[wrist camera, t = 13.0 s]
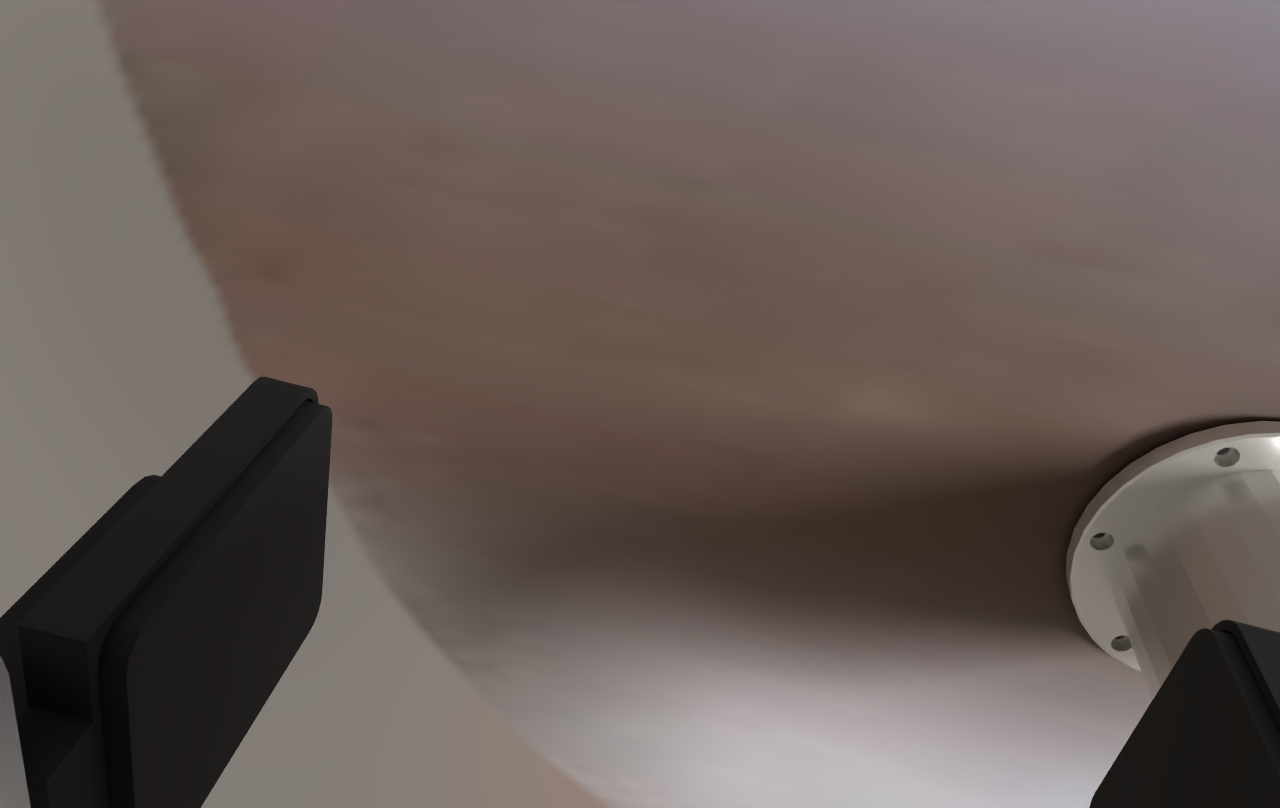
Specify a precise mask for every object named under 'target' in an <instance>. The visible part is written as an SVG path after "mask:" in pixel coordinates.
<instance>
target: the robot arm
mask: <svg viewBox="0 0 1280 808" xmlns="http://www.w3.org/2000/svg"><path fill="white" fill-rule="evenodd" d="M331 431H332V412H331V409H330V408H329V407H328V406H324V405H320V404H318V397H317V393H316V391H315V390H314V389H312V388H308V387H304V386H300V385H296V384H292V383H288V382H284V381H280V380H276V379H272V378H268V377H260V378H258V379H257V380H256V381H254V382H253V383H252V384H251V385H250V386H249V387H248V388H247V390H245V392H244V393H243V394H242V395H241V396H240V397H239V398H238V399H237V400H236V401H235V402H234V403H233V404H232V405H231V406H230V407H229V408H228V409H227V410H226V411H225V412H224V413H223V414H222V415H221V416H220V417H219V418H218V419H217V420H216V421H215V422H214V423H213V424H212V426H210V427H209V428H208V430H207V431H205V432H204V433H203V435H202V436H201V437H200V438H199V439H198V440H197V441H196V442H195V443H194V444H193V445H192V446H191V447H190V448H189V449H188V450H187V451H186V452H185V453H184V454H183V455H182V456H181V457H180V458H179V459H178V460H177V461H176V462H175V463H174V464H173V465H172V466H171V468H169V469H168V470H167V471H166V473H165V474H164V475H163V476H162V477H160V476H157V475H151V476H147V477H144V478H143V479H141V480H140V481H139V482H137V483H136V484H135V485H133V486H132V487H131V488H130V489H129V490H128V491H127V492H126V493H125V495H123V496H122V498H120V499H119V500H118V501H117V502H116V503H115V504H114V505H113V506H112V507H111V508H110V509H109V510H108V511H107V513H105V514H104V515H103V516H102V517H101V518H100V519H99V520H98V521H97V522H96V523H95V524H94V525H93V526H92V527H91V528H90V529H89V530H88V531H87V532H86V533H85V534H84V535H83V536H82V537H81V538H80V539H79V540H78V541H77V542H76V543H75V544H74V545H73V546H72V547H71V548H70V549H69V550H68V551H67V552H66V553H65V554H64V555H63V556H62V557H61V558H60V559H59V560H58V561H57V562H56V563H55V564H54V565H53V566H52V567H51V568H50V569H49V570H48V571H47V572H46V573H45V574H44V575H43V576H42V577H41V578H40V579H39V580H38V581H37V582H36V583H35V584H34V585H33V586H32V587H31V588H30V589H29V590H28V591H27V592H26V593H25V594H24V595H23V596H22V597H21V598H20V599H19V600H18V601H17V602H16V603H15V604H14V605H13V606H12V607H11V608H10V609H9V610H8V611H7V612H6V613H5V614H4V615H3V616H2V617H1V618H0V808H201V806H202V804H203V803H204V801H205V799H206V798H207V796H208V795H209V793H210V792H211V789H212V788H213V787H214V785H215V783H216V782H217V780H218V779H219V777H220V775H221V774H222V772H223V770H224V769H225V767H226V766H227V764H228V762H229V761H230V759H231V757H232V756H233V754H234V753H235V751H236V749H237V748H238V746H239V745H240V743H241V741H242V740H243V738H244V736H245V735H246V733H247V732H248V730H249V728H250V727H251V725H252V724H253V722H254V720H255V719H256V717H257V715H258V714H259V712H260V711H261V709H262V707H263V706H264V704H265V703H266V701H267V699H268V698H269V696H270V694H271V693H272V691H273V690H274V688H275V686H276V685H277V683H278V681H279V680H280V678H281V677H282V675H283V674H284V671H285V670H286V669H287V667H288V665H289V664H290V662H291V661H292V659H293V657H294V656H295V654H296V652H297V651H298V649H299V648H300V646H301V644H302V643H303V641H304V639H305V638H306V636H307V635H308V633H309V631H310V630H311V628H312V626H313V624H314V622H315V619H316V617H317V614H318V610H319V607H320V603H321V597H322V584H323V567H324V550H325V549H324V548H325V532H326V516H327V499H328V482H329V465H330V448H331ZM1066 578H1067V583H1068V587H1069V591H1070V596H1071V599H1072V602H1073V604H1074V607H1075V610H1076V612H1077V615H1078V617H1079V620H1080V622H1081V623H1082V625H1083V626H1084V628H1085V629H1086V631H1087V632H1088V633H1089V635H1090V636H1091V638H1092V639H1093V640H1094V641H1095V642H1096V643H1097V644H1098V645H1099V646H1100V647H1101V648H1102V649H1103V650H1104V651H1105V652H1106V653H1108V654H1109V655H1110V656H1112V657H1114V658H1115V659H1117V660H1119V661H1120V662H1122V663H1124V664H1126V665H1127V666H1129V667H1131V668H1132V669H1135V670H1138V671H1140V672H1142V674H1143V677H1144V679H1145V682H1146V685H1147V687H1148V690H1149V693H1150V695H1151V698H1152V702H1151V704H1150V705H1149V707H1148V708H1147V710H1146V712H1145V713H1144V715H1143V717H1142V718H1141V720H1140V721H1139V723H1138V725H1137V726H1136V728H1135V729H1134V731H1133V733H1132V734H1131V736H1130V737H1129V739H1128V741H1127V742H1126V744H1125V746H1124V747H1123V749H1122V750H1121V752H1120V754H1119V755H1118V757H1117V758H1116V760H1115V762H1114V763H1113V765H1112V766H1111V768H1110V770H1109V771H1108V773H1107V775H1106V776H1105V778H1104V779H1103V781H1102V783H1101V784H1100V786H1099V787H1098V789H1097V791H1096V792H1095V794H1094V796H1093V798H1092V801H1091V804H1090V808H1280V422H1274V421H1256V422H1246V423H1237V424H1228V425H1222V426H1218V427H1215V428H1211V429H1207V430H1203V431H1199V432H1195V433H1191V434H1188V435H1186V436H1184V437H1181V438H1179V439H1176V440H1174V441H1171V442H1169V443H1167V444H1164V445H1162V446H1159V447H1157V448H1156V449H1154V450H1152V451H1151V452H1149V453H1147V454H1146V455H1144V456H1142V457H1141V458H1139V459H1137V460H1135V461H1134V462H1132V463H1130V464H1129V465H1128V466H1127V467H1125V468H1124V469H1123V470H1122V471H1121V472H1119V473H1118V474H1117V475H1116V476H1115V477H1113V478H1112V479H1111V480H1110V481H1109V482H1107V483H1106V484H1105V485H1104V486H1103V488H1102V489H1101V490H1100V491H1099V492H1098V493H1097V495H1096V496H1095V497H1094V498H1093V499H1092V501H1091V502H1090V503H1089V504H1088V505H1087V507H1086V508H1085V510H1084V512H1083V514H1082V516H1081V517H1080V519H1079V521H1078V523H1077V525H1076V526H1075V528H1074V530H1073V534H1072V537H1071V541H1070V544H1069V547H1068V551H1067V563H1066Z"/></svg>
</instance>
